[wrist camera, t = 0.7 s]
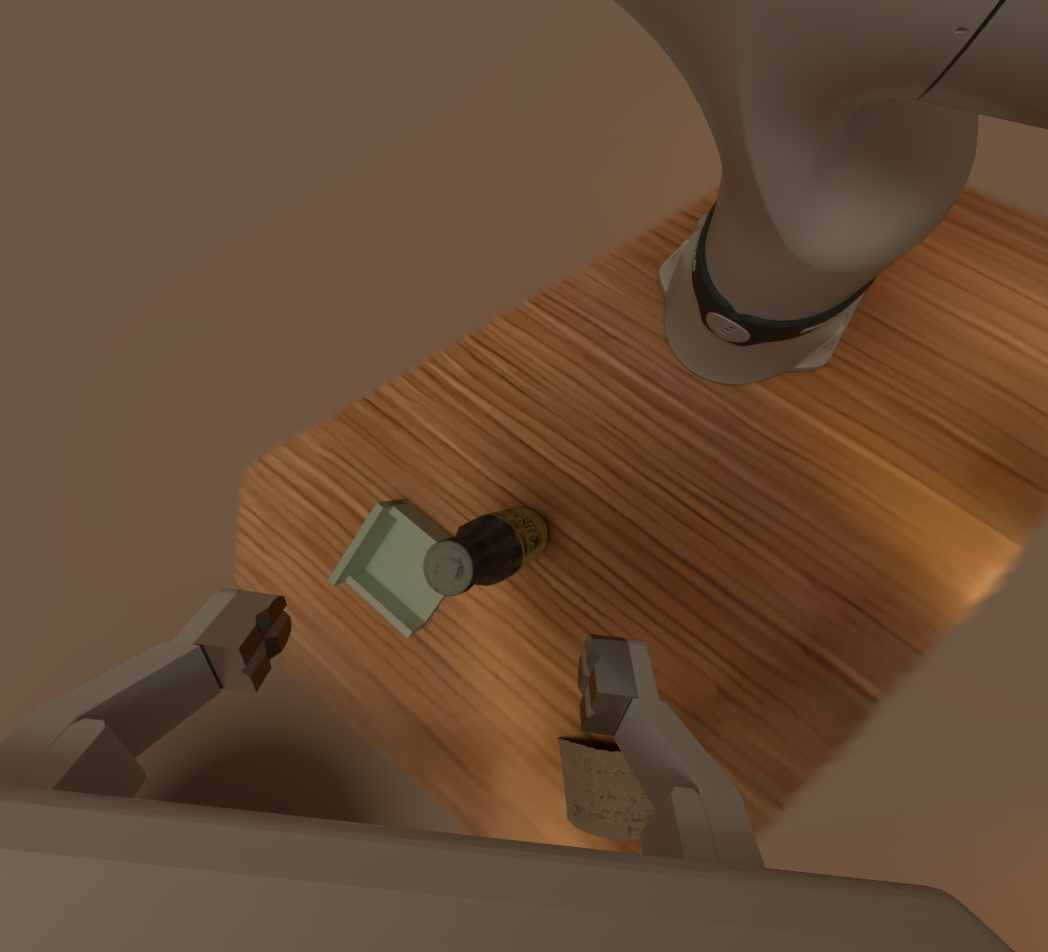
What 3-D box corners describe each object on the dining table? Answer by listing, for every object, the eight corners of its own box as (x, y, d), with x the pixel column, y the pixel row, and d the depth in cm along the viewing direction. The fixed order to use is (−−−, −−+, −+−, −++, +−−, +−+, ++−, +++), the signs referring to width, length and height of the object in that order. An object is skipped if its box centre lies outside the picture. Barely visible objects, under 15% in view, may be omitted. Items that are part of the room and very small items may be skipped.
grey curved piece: (677, 731, 45) (679, 748, 42) (693, 824, 44) (697, 847, 42) (549, 732, 48) (544, 748, 46) (563, 818, 48) (559, 839, 45)
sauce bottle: (561, 533, 47) (514, 579, 28) (524, 569, 48) (453, 637, 29) (522, 492, 48) (450, 509, 29) (487, 528, 49) (395, 568, 30)
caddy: (404, 498, 52) (376, 502, 46) (473, 555, 50) (453, 566, 44) (359, 568, 54) (327, 580, 48) (423, 626, 51) (398, 645, 46)
